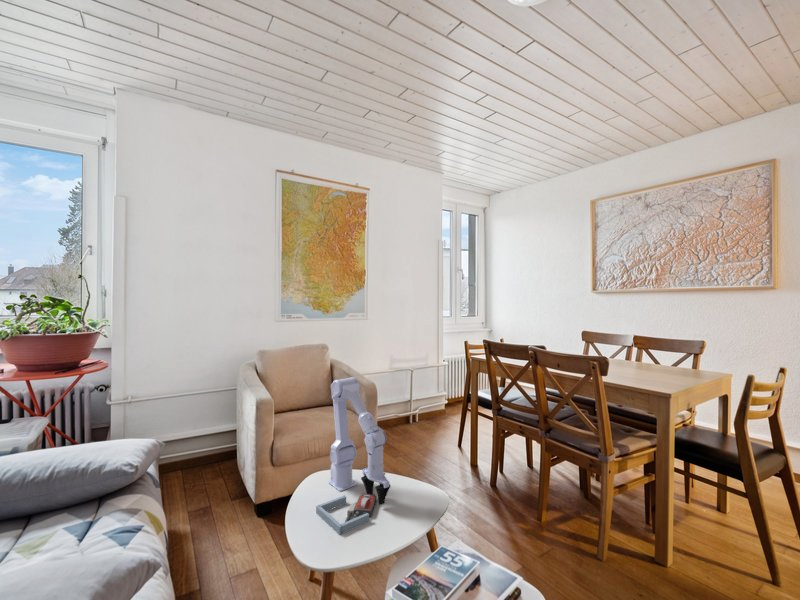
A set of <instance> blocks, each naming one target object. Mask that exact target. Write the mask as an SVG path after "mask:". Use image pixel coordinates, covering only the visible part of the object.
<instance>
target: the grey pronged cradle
mask: <svg viewBox="0 0 800 600" xmlns="http://www.w3.org/2000/svg"><path fill="white" fill-rule="evenodd" d="M345 503H346V504H347V496H346V495H345V494H344V495H341V496H339V497H336V498H334V499H331V500H329V501H326V502H323V503H321V504H318V505H315V513H316V514H317V516H318V517H320V518H321V520H323V521H324V522H325V523H326V524H327V525H328V526H329V527H330V528H331V527H332V528H333V531H335V533H336V534H338V535H339V536H341V535H343V534H345V533H348V532H350V531H352V530H354V529H356V528H358V527H360V526H363V525H365V524H368V523H369V522H370V518H369V514H368V513H366V514H363V515H361V516H359V517H356V518H351V519H349V521H347V522H345V521H344V522H343V523H340V522H339V521H338V520H337V519H336V518H334V517H333V515H331V514H330V513H329V511H331V510H333V509H335V508H334V507H336V508H338V507H341V506H343V505H345ZM340 505H341V506H340ZM337 506H338V507H337ZM332 508H333V509H332ZM330 509H331V510H330ZM327 510H328V511H327Z"/></svg>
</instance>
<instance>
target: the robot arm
mask: <svg viewBox="0 0 800 600" xmlns="http://www.w3.org/2000/svg"><path fill="white" fill-rule="evenodd" d="M360 387H361V386H360V384H359V380H358V379H357V378H356V377H355V376H351V377H346V378H341V379H334V380H333V382H332V383H331V384H330V391H331V392H330V393H331V400H332V405H333V418H334V428H335V441H334V442H333V443H332V444H331V445H330V453H329V459H330V462H331V465H330V480H329V481H328V484H329V485H331V486H332V487H334V488H335V489H337V490H338V492H342V491H344V490H347V489H350V488H352V487H356V486H357V483H356V482H354V481H353V463H354V461H355V459H356V458H357V452H358V451H357V449H356V446H355V441H354V440H352V439H351V438H350V434H349V423H348V411H347V410H348V408H347V400H349V402H350V403H351V405H352V407H353V408H354V410H355V412H356V413H357V415H358V419H357V422H358V424H359V425H360V429H361V430H362V433H363V434H364V439H363V440H364V444H365V446H366V448H365V449H366V452H367V467H365V468H363V469H362V474H363V476H362V477H360V478H361V479H360V480H361V481H362V483H363V486H364V489H365V493H366V494H374V488H375V490H376V493H377V501H378V505H379V506H382V505H384V504H385V503H386V498H387V495H388V492H389V491H390V489H391V484H390V481H389V480H388V479H387V477H386V476H385V475H386V472H384V445H385V444H386V443H387V435H386V432H385V430H383V429H382V428H381V427H380V426H378V424H377V422H376V420H375V418H374V416H373V415H372V413H371V412H369V411H368V410H367V409H366V405H365V402H364V401H363V399H362V396H361V394H360ZM375 483H379V485H376V486H374V484H375Z"/></svg>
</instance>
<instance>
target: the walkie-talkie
mask: <svg viewBox="0 0 800 600" xmlns="http://www.w3.org/2000/svg"><path fill="white" fill-rule="evenodd" d="M377 501H378V495H376V494H375V493H373V494H366V492H365V493H361V494H360V495H359V497H358V499H357V501H355V502H353V503H352V504H350V505H349V508H348V509H347V513H346V514H347V517H346V518H345V521H344V523H345V522H347V521H349V520H351V519H350V518H351V517H354V518H356V517H359V516H361V515H363V514H366V513H368V514H369V519H371V518H372V516H373V514H374V511H375V508H376V505H377ZM354 518H353V519H354Z"/></svg>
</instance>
